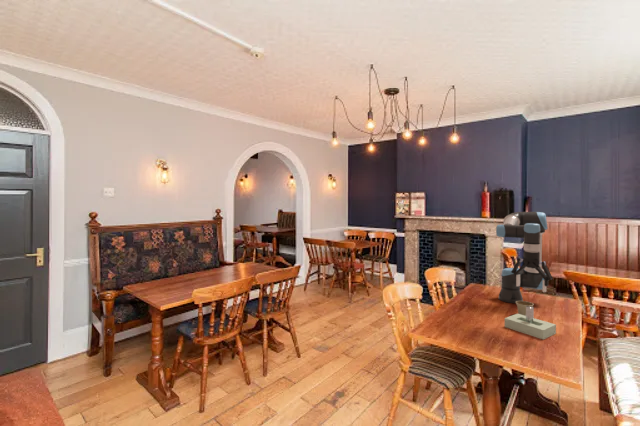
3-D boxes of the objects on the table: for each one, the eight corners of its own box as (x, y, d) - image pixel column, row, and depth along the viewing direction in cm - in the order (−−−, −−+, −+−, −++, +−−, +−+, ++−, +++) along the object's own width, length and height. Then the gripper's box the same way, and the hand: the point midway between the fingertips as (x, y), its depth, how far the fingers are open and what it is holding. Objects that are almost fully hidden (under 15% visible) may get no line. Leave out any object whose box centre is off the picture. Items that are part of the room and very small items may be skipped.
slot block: (517, 321, 191) (517, 313, 190) (555, 333, 174) (556, 324, 173) (504, 326, 183) (504, 318, 183) (543, 339, 166) (543, 330, 166)
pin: (527, 326, 181) (528, 305, 180) (534, 328, 178) (535, 307, 177) (524, 327, 179) (524, 306, 178) (531, 330, 176) (531, 308, 175)
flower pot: (513, 316, 198) (514, 303, 198) (517, 312, 205) (517, 299, 205) (531, 320, 192) (531, 306, 192) (534, 316, 199) (534, 302, 198)
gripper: (505, 248, 186) (504, 284, 187) (554, 255, 165) (553, 295, 166) (512, 247, 190) (511, 282, 191) (560, 253, 169) (559, 293, 170)
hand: (530, 288), depth 178 cm, fingers open, 13 cm apart
